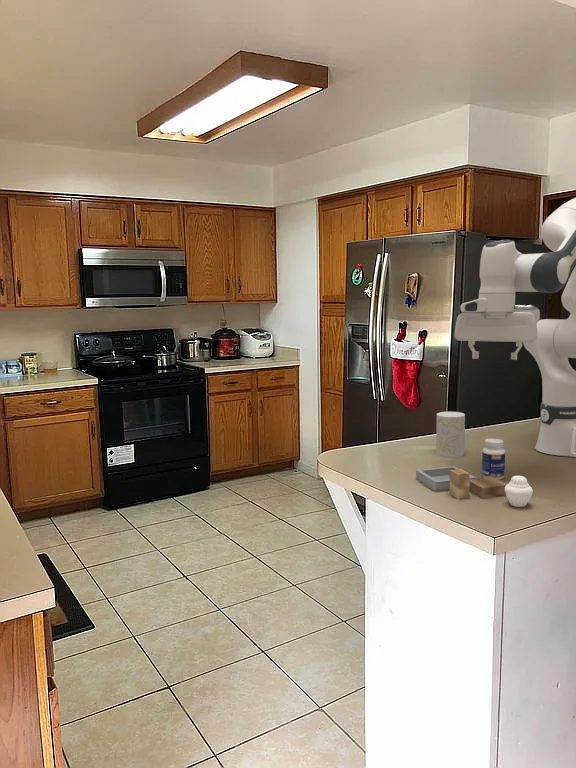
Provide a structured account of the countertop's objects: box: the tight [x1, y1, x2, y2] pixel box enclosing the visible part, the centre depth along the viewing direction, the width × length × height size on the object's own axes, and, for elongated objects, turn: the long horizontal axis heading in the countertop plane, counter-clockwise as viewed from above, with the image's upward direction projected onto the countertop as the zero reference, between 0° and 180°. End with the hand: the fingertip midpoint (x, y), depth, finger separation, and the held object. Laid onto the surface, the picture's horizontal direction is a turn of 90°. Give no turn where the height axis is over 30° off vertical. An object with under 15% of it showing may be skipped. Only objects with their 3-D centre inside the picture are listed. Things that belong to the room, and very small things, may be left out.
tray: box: [415, 465, 477, 493], centre depth 165 cm, size 11×11×2 cm
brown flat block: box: [469, 477, 508, 500], centre depth 157 cm, size 7×7×3 cm
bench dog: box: [449, 468, 471, 500], centre depth 155 cm, size 3×4×6 cm
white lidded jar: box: [505, 475, 534, 508], centre depth 148 cm, size 6×6×7 cm
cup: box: [435, 411, 466, 458], centre depth 192 cm, size 8×8×12 cm
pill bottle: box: [481, 437, 506, 481], centre depth 168 cm, size 6×6×10 cm
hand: (494, 359), depth 166 cm, fingers open, 8 cm apart
